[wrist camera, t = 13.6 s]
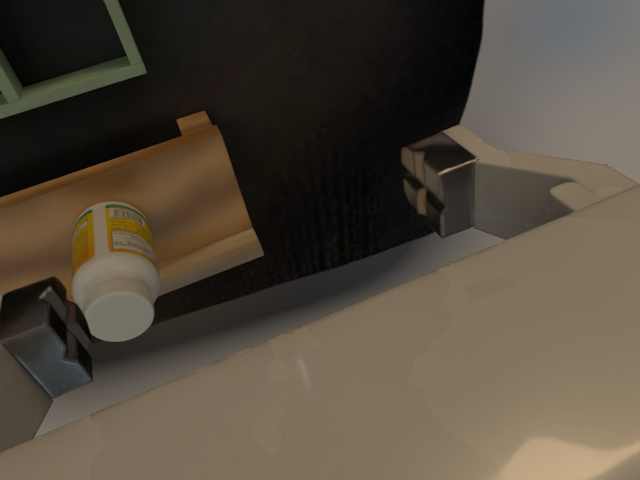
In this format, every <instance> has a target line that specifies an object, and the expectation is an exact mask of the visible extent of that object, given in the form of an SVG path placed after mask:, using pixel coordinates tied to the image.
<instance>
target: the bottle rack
mask: <svg viewBox="0 0 640 480" xmlns="http://www.w3.org/2000/svg"><path fill="white" fill-rule="evenodd" d="M104 2H105V5H106V7H107V9H108V12H109V14H110V16H111V19H112V21H113V24H114V26H115V28H116V31H117V33H118V35H119V38H120V40H121V43H122V45H123V47H124V50H125V52H126V54H127V56H124V57H121V58H118V59H114V60H111V61H108V62H104V63H101V64H98V65H95V66H91V67H88V68H85V69H81V70H78V71H75V72H72V73H68V74H65V75H62V76H59V77H55V78H52V79H49V80H45V81H42V82H39V83H36V84H32V85H29V86H26V87H23V86H22V85H21V83H20V81H19V79H18V78H17V76H16V74H15V72H14V71H13V69H12V67H11V65H10V64H9V62H8V60H7V58H6V57H5V55H4V53H3V52H2V50H1V48H0V90H1V92H2V94H0V119H1V118H5V117H8V116H11V115H14V114H17V113H21V112H24V111H27V110H30V109H33V108H37V107H40V106H43V105H46V104H49V103H53V102H56V101H59V100H62V99H65V98H69V97H72V96H75V95H78V94H81V93H85V92H88V91H91V90H94V89H97V88H101V87H104V86H107V85H110V84H113V83H116V82H120V81H123V80H126V79H129V78H132V77H136V76H139V75H142V74H145V73H147V72H146V69H145V66H144V63H143V60H142V58H141V55H140V53H139V50H138V48H137V46H136V43H135V41H134V38H133V36H132V33H131V31H130V28H129V26H128V23H127V21H126V18H125V16H124V13H123V11H122V8H121V6H120V3H119V1H118V0H104Z"/></svg>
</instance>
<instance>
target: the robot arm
mask: <svg viewBox="0 0 640 480" xmlns="http://www.w3.org/2000/svg"><path fill="white" fill-rule="evenodd" d="M401 162H402V164H403V165H404V166H405V167H406V168H407V169H408V170H407V172H406V174H405V176H404V178H403V183H404V191H405V193H406V196H407V199H408V201H409V203H410V205H411V206H412V208H413V209H414V210H415V211H416V212H417V213H418V214H422V215H426V216H427V224H428V225H429V226H430V227H431V228H432V229H433V230H434V231H435V232H436V233H437V234H438V235H439V236H440V237H441V238H444V237H447V236H450V235H453V234H455V233H458V232H461V231H463V230H466V229H469V228H471V227H474V228H475V229H478V230H481V231H483V232H486V233H489V234H492V235H494V236H497V237H500V238H503V239H505V241H503V242H501V243H498V244H496V245H493V246H491V247H489V248H486V249H484V250H481V251H479V252H477V253H474V254H472V255H470V256H467V257H465V258H463V259H460V260H458V261H455V262H453V263H451V264H448V265H446V266H444V267H441V268H439V269H436V270H434V271H431V272H429V273H427V274H424V275H422V276H420V277H417V278H415V279H412V280H410V281H408V282H405V283H403V284H401V285H399V286H396V287H393V288H391V289H389V290H386V291H384V292H382V293H379V294H377V295H374V296H372V297H370V298H367V299H365V300H362V301H360V302H358V303H355V304H353V305H351V306H348V307H346V308H343V309H341V310H339V311H336V312H334V313H332V314H329V315H327V316H324V317H322V318H320V319H317V320H315V321H312V322H310V323H308V324H305V325H303V326H301V327H298V328H296V329H293V330H291V331H289V332H286V333H284V334H282V335H279V336H277V337H274V338H272V339H270V340H267V341H265V342H263V343H260V344H258V345H255V346H253V347H251V348H248V349H246V350H243V351H241V352H239V353H236V354H234V355H231V356H229V357H227V358H224V359H222V360H220V361H217V362H215V363H213V364H210V365H208V366H205V367H203V368H200V369H198V370H196V371H193V372H191V373H189V374H186V375H184V376H182V377H179V378H177V379H174V380H172V381H169V382H167V383H165V384H163V385H160V386H158V387H155V388H153V389H150V390H148V391H146V392H143V393H141V394H138V395H136V396H134V397H132V398H129V399H127V400H124V401H122V402H119V403H117V404H115V405H112V406H110V407H108V408H105V409H103V410H101V411H99V412H96V413H93V414H91V415H89V416H86V417H84V418H82V419H79V420H77V421H74V422H72V423H69V424H67V425H65V426H62V427H60V428H57V429H55V430H53V431H50V432H48V433H46V434H43V435H41V436H38V437H36V438H34V436H35V435H36V433H37V431H38V429H39V427H40V425H41V423H42V421H43V419H44V417H45V416H46V414H47V412H48V410H49V408H50V406H51V404H52V402H53V400H52V399H54V398H56V397H58V396H61V395H63V394H65V393H67V392H70V391H72V390H74V389H77V388H79V387H81V386H83V385H86V384H88V383H90V382H92V381H93V376H92V358H91V356H90V355H89V353H88V352H87V351H86V350H87V348H88V347H89V345H90V344H91V333H90V329H89V326H88V322H87V320H86V318H85V316H84V314H83V312H82V310H81V309H80V307H79V306H78V304H77V303H74V302H72V301H69V300H67V289H66V287H65V286H64V285H63V284H62V282H61V281H60V280H59V278H57V277H55V276H52V277H49V278H46V279H44V280H41V281H38V282H35V283H32V284H29V285H26V286H23V287H21V288H18V289H15V290H12V291H9V292H6V293H5V294H0V480H640V184H639V183H637V182H635V181H634V180H632V179H630V178H628V177H627V176H625V175H623V174H622V173H620V172H618V171H617V170H615V169H613V168H612V167H610V166H608V165H606V164H599V163H592V162H586V161H579V160H572V159H565V158H558V157H552V156H545V155H538V154H530V153H524V152H518V151H510V150H504V151H501V152H500V151H498V150H497V149H495V148H494V147H493V146H491V145H490V144H488V143H487V142H485V141H484V140H483V139H481V138H480V137H478V136H477V135H475V134H474V133H472V132H471V131H469V130H468V129H467V128H465V127H464V126H461V125H457V126H454V127H452V128H449V129H447V130H444V131H442V132H440V133H438V134H435V135H433V136H430V137H428V138H425V139H423V140H420V141H418V142H415V143H412V144H410V145H407V146H405V147H402V151H401ZM33 438H34V439H33Z"/></svg>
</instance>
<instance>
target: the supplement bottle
mask: <svg viewBox="0 0 640 480" xmlns="http://www.w3.org/2000/svg"><path fill="white" fill-rule="evenodd" d="M159 290H160V276H159V271H158V265H157V260H156V255H155V251H154V245H153V240H152V235H151V230H150V226H149V223H148V221H147V219H146V217H145V216H144V215H143V213H142V212H140V211H139V210H138V209H137V208H135V207H133V206H131V205H129V204H126V203H123V202H116V201H109V202H102V203H98V204H95V205H93V206H91V207H89V208H87V209H86V210H85V211H84V212H83V213H82V214H81V215H80V216H79V217H78V218H77V220H76V222H75V224H74V226H73V231H72V295H73V299H74V301H75V303H77V304H78V306H79V307H80V309H81V310H82V311H83V314H84V316H85V318H86V320H87V322H88V326H89V329H90V333H91V334H92V335H94V336H95V337H97V338H99V339H101V340H105V341H113V342H117V341H125V340H129V339H132V338H135V337H136V336H139V335H140V334H142V333H143V332H144V331H146V329H147V328H148V327H149V326H150V325H151V323H152V321H153V318H154V306H153V303H154V302H155V300H156V298H157V296H158V294H159Z"/></svg>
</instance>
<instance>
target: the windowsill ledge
mask: <svg viewBox="0 0 640 480" xmlns="http://www.w3.org/2000/svg"><path fill="white" fill-rule="evenodd" d="M177 123H178V126H179V128H180V131H181V134H182V136H181V137H178V138H175V139H172V140H169V141H166V142H163V143H160V144H157V145H154V146H151V147H148V148H145V149H142V150H139V151H136V152H133V153H130V154H127V155H124V156H121V157H119V158H116V159H113V160H110V161H107V162H104V163H101V164H98V165H95V166H92V167H89V168H86V169H83V170H80V171H77V172H74V173H71V174H68V175H65V176H62V177H59V178H56V179H53V180H50V181H47V182H45V183H42V184H39V185H36V186H33V187H30V188H27V189H24V190H21V191H18V192H15V193H12V194H9V195H6V196H3V197H0V294H5V293H6V292H9V291H12V290H15V289H18V288H21V287H23V286H26V285H29V284H32V283H35V282H38V281H41V280H44V279H46V278H49V277H52V276H55V277H57V278H59V280H60V281H61V282H62V284H63V285H64V286H65V287H66V289H67V300H69V301H72V302H74V303H75V301H74V299H73V295H72V231H73V226H74V224H75V222H76V220H77V218H78V217H79V216H80V215H81V214H82V213H83V212H84V211H85V210H86V209H87V208H89V207H91V206H93V205H95V204H98V203H102V202H109V201H116V202H123V203H126V204H129V205H131V206H133V207H135V208H137V209H138V210H139V211H140V212H142V213H143V215H144V216H145V217H146V219H147V221H148V223H149V226H150V230H151V235H152V240H153V245H154V251H155V255H156V260H157V265H158V271H159V276H160V290H159V294H158V296H160V295H163V294H165V293H168V292H170V291H173V290H175V289H178V288H181V287H183V286H186V285H188V284H191V283H194V282H196V281H199V280H201V279H204V278H206V277H209V276H212V275H214V274H217V273H219V272H222V271H224V270H227V269H230V268H232V267H235V266H237V265H240V264H242V263H245V262H248V261H250V260H253V259H255V258H258V257H260V256H263V255H264V253H263V250H262V247H261V244H260V242H259V240H258V238H257V236H256V234H255V232H254V230H253V227H252V224H251V221H250V218H249V215H248V212H247V209H246V206H245V203H244V201H243V198H242V195H241V192H240V189H239V186H238V183H237V180H236V177H235V174H234V171H233V168H232V165H231V162H230V159H229V156H228V153H227V150H226V147H225V144H224V141H223V138H222V135H221V133H220V131H219V129H218V127H217V125H213V126H212V124H211V122H210V120H209V118H208V116H207V114H206V112H205V111H201V112H198V113H195V114H192V115H189V116H186V117H183V118H180V119H177ZM82 312H83V311H82Z"/></svg>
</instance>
